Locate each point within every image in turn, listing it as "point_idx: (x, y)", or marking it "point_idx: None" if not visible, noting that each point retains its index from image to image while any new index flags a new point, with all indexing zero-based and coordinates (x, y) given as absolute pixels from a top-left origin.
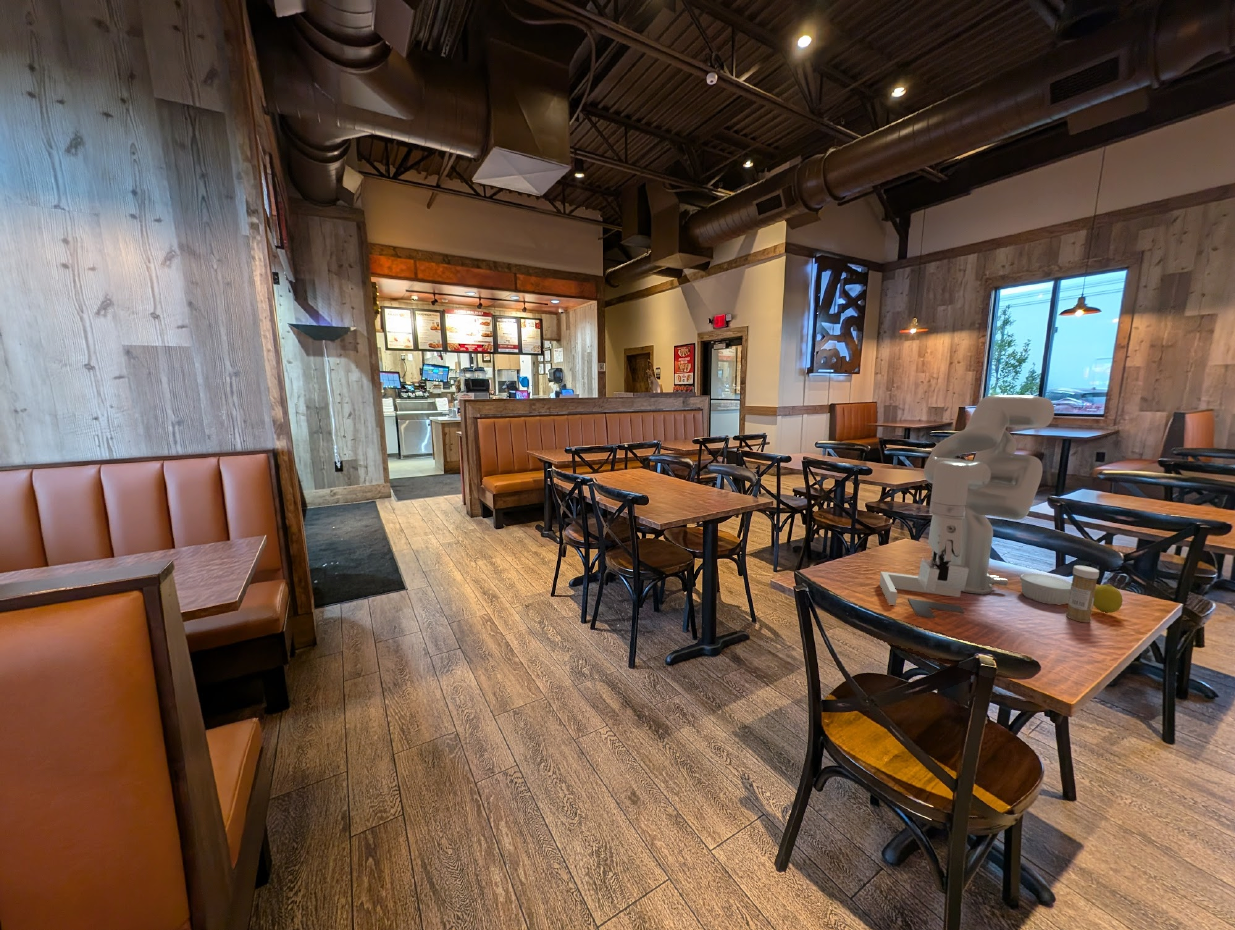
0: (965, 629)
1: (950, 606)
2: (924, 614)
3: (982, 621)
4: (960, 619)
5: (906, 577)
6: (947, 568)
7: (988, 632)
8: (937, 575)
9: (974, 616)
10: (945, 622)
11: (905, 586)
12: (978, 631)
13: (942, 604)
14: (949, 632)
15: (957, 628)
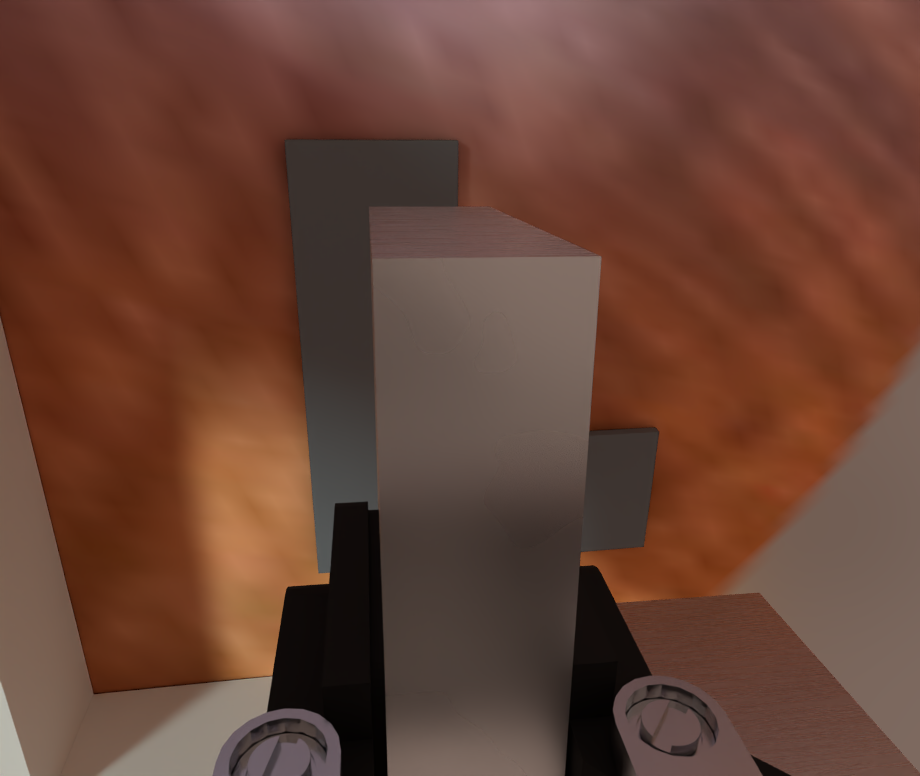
0: (807, 243)
1: (358, 249)
2: (625, 497)
3: (605, 16)
4: (616, 226)
5: (1, 666)
6: (598, 643)
7: (835, 54)
8: (911, 771)
9: (501, 59)
10: (709, 365)
11: (48, 590)
12: (828, 142)
13: (333, 314)
14: (874, 376)
15: (800, 301)
